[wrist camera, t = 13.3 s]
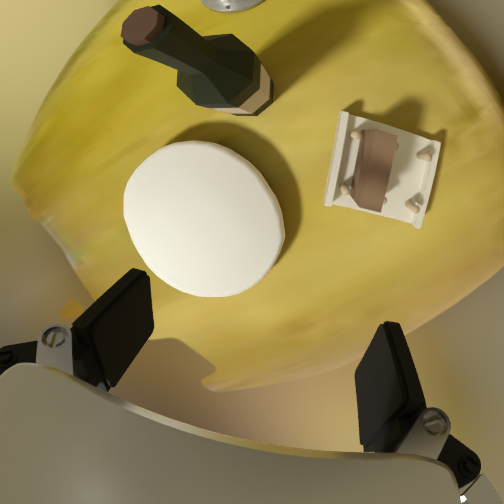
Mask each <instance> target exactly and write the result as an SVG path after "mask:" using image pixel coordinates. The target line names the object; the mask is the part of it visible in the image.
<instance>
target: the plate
mask: <svg viewBox="0 0 504 504" xmlns="http://www.w3.org/2000/svg"><path fill="white" fill-rule="evenodd" d="M124 218H125V221H126V224H127V227H128V230H129V233H130V236H131V238H132V241H133V243H134V245H135V247H136V249H137V251H138V252H139V254H140V255H141V257H142V258H143V260H144V261H145V263H146V264H147V266H148V267H149V268H150V269H151V270H152V271H153V272H154V273H155V274H156V275H157V276H158V277H159V278H161V279H162V280H163V281H165V282H166V283H168V284H169V285H170V286H172V287H174V288H176V289H178V290H180V291H182V292H186V293H189V294H192V295H196V296H199V297H227V296H231V295H235V294H239V293H241V292H243V291H245V290H247V289H249V288H251V287H253V286H254V285H255V284H256V283H258V282H259V281H260V280H261V279H262V278H264V277H265V276H266V274H267V273H268V272H269V270H270V269H271V268H272V267H273V265H274V264H275V262H276V260H277V258H278V256H279V254H280V252H281V249H282V246H283V243H284V240H285V229H284V222H283V215H282V211H281V208H280V205H279V203H278V200H277V197H276V196H275V194H274V193H273V191H272V190H271V188H270V186H269V185H268V183H267V182H266V180H265V179H264V177H263V175H262V174H261V173H260V172H259V171H258V170H257V169H256V168H255V167H254V166H253V165H252V164H251V163H250V162H249V161H248V160H246V159H245V158H243V157H242V156H240V155H239V154H237V153H236V152H234V151H232V150H231V149H229V148H227V147H224V146H222V145H219V144H216V143H212V142H205V141H197V140H192V141H183V142H175V143H172V144H170V145H167V146H165V147H162V148H160V149H158V150H157V151H156V152H154V153H153V154H152V155H151V156H149V157H148V158H147V159H145V160H144V161H143V162H142V163H141V164H140V165H139V167H138V168H137V169H136V170H135V171H134V173H133V174H132V176H131V178H130V179H129V181H128V182H127V185H126V189H125V193H124Z"/></svg>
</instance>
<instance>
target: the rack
mask: <svg viewBox="0 0 504 504" xmlns="http://www.w3.org/2000/svg"><path fill="white" fill-rule="evenodd" d="M367 129H378V130H381V131H384V132H388V133H391V134H394V135H397V142H396V148H395V153H394V158H393V163H392V168H391V172H390V177H389V181H388V186H387V190H386V194H385V198H384V202H383V206H382V210H381V213H380V212H376V211H372V210H368V209H364V208H360V207H358V205H357V204H356V203H355V201H354V200H353V199H352V197H351V196H350V195H349V194H350V192H351V190H350V187H351V183H352V178H353V173H354V168H355V163H356V158H357V153H358V148H359V142H360V138H361V136H362V134H361V130H367ZM440 145H441V143H440V142H438V141H435V140H429V139H426V138H424V137H421V136H418V135H416V134H413V133H410V132H407V131H404V130H401V129H398V128H395V127H392V126H389V125H386V124H383V123H379V122H376V121H372V120H369V119H365V118H361V117H358V116H354V115H350V114H349V112H344V111H341V112H340V113H339V115H338V121H337V128H336V134H335V140H334V146H333V151H332V157H331V162H330V168H329V173H328V178H327V183H326V188H325V193H324V198H323V202H324V205H325V206H330V207H331V206H332V204H334V205H339V206H343V207H348V208H352V209H356V210H361V211H365V212H369V213H373V214H377V215H381V216H385V217H389V218H393V219H396V220H400V221H404V222H408V223H411V224H412V225H413V226H414V227H415V228H419V229H420V228H421V224H422V221H423V218H424V214H425V211H426V207H427V204H428V200H429V196H430V192H431V188H432V184H433V180H434V175H435V171H436V166H437V161H438V156H439V151H440Z"/></svg>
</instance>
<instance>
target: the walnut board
mask: <svg viewBox="0 0 504 504" xmlns="http://www.w3.org/2000/svg"><path fill="white" fill-rule="evenodd" d="M361 134H362V136H361V138H360V142H359V148H358V153H357V158H356V163H355V168H354V173H353V178H352V183H351V187H350V190H351V192H350V194H349V195H350V196H351V197H352V199H353V200H354V201H355V203H356V204H357V205H358V207H360V208H364V209H368V210H372V211H376V212H380V213H381V210H382V206H383V202H384V198H385V194H386V190H387V186H388V181H389V177H390V172H391V168H392V163H393V158H394V153H395V148H396V142H397V135H394V134H391V133H388V132H384V131H381V130H378V129H367V130H361Z"/></svg>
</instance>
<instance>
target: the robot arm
mask: <svg viewBox="0 0 504 504" xmlns="http://www.w3.org/2000/svg"><path fill="white" fill-rule="evenodd" d="M200 1H201V2H202V3H203V4H204V5H205V6H206V7H208V8H209V9H211V10H214V11H217V12H223V13H233V12H240V11H244V10H247V9H250V8H253V7H255V6H256V5H258V4H260V3H261V2H262V1H264V0H200ZM229 8H230V9H229ZM72 325H73V327H72V328H71V329H69V328H68V327H67V326H65V325H62V324H53V325H50V326H48V327H46V328H44V329H43V330H42V331H41V333H40V334H39V337H38V341H32V342H27V343H20V344H14V345H8V346H4V347H2V348H1V349H0V504H502V500H501V498H500V496H499V495H498V493H497V492H496V490H495V489H494V487H493V486H492V484H491V483H490V481H489V480H488V479H487V477H486V476H485V474H484V473H482V474H481V475H480V470H481V462H480V459H479V457H478V456H477V454H476V453H474V452H473V451H472V450H470V449H469V448H468V447H466V446H465V445H464V444H462V443H461V442H460V441H458V440H457V439H456V438H454V437H453V436H452V435H450V434H449V433H450V429H451V423H450V420H449V417H448V416H447V414H446V413H445V412H443V411H442V410H441V409H438V408H434V407H430V408H427V407H426V402H425V398H424V395H423V391H422V387H421V384H420V381H419V378H418V374H417V371H416V368H415V365H414V363H413V359H412V356H411V353H410V350H409V347H408V345H407V342H406V339H405V336H404V334H403V331H402V328H401V326H400V324H399V323H396V322H389V321H385V322H384V324H380V325H379V327H378V329H377V331H376V333H375V335H374V337H373V339H372V341H371V343H370V345H369V347H368V349H367V351H366V352H365V354H364V356H363V358H362V360H361V362H360V364H359V365H358V367H357V369H356V371H355V385H356V394H357V406H358V420H359V436H360V444H361V445H363V447H364V452H375V453H359V452H357V453H356V452H336V451H320V450H310V449H301V448H292V447H285V446H278V445H272V444H266V443H261V442H256V441H250V440H245V439H241V438H236V437H232V436H228V435H224V434H220V433H216V432H212V431H209V430H205V429H201V428H198V427H195V426H191V425H188V424H185V423H182V422H179V421H176V420H173V419H170V418H167V417H165V416H162V415H159V414H156V413H154V412H151V411H148V410H146V409H143V408H141V407H138V406H136V405H134V404H132V403H129V402H127V401H125V400H122V399H120V398H118V397H116V396H114V395H111V394H109V393H107V392H108V391H109V389H110V388H111V387H115V386H116V384H117V383H118V382H119V380H120V379H121V377H122V375H123V374H124V373H125V371H126V370H127V368H128V367H129V365H130V364H131V363H132V361H133V360H134V358H135V357H136V355H137V354H138V353H139V351H140V350H141V348H142V347H143V345H144V344H145V343H146V341H147V340H148V338H149V337H150V336H151V334H152V332H153V330H154V320H153V310H152V299H151V286H150V277H149V276H148V275H147V273H146V272H145V271H143V270H139V269H135V268H132V269H131V270H129V271H128V272H127V273H126V274H125V275H124V276H123V277H122V278H120V279H119V280H118V281H117V282H116V283H115V284H114V285H113V286H112V287H110V288H109V289H108V290H107V291H106V292H105V293H104V294H103V295H102V296H101V297H100V298H98V299H97V300H96V301H95V302H94V303H93V304H92V305H91V306H90V307H89V308H88V309H87V310H86V311H85V312H84V313H83V314H82V315H81V316H80V317H79V318H77V320H75V321H74V323H72ZM97 387H98V388H97ZM99 388H100V389H99ZM101 389H102V390H101ZM103 390H104V391H103ZM105 391H106V392H105Z"/></svg>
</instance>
